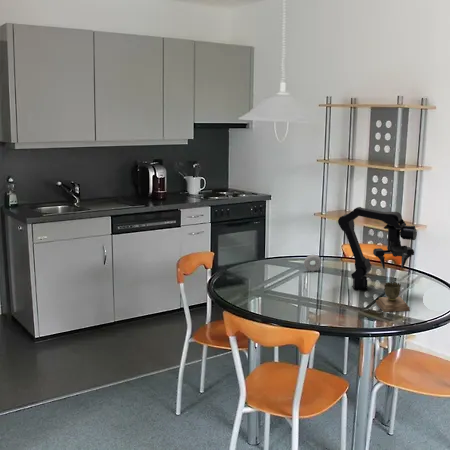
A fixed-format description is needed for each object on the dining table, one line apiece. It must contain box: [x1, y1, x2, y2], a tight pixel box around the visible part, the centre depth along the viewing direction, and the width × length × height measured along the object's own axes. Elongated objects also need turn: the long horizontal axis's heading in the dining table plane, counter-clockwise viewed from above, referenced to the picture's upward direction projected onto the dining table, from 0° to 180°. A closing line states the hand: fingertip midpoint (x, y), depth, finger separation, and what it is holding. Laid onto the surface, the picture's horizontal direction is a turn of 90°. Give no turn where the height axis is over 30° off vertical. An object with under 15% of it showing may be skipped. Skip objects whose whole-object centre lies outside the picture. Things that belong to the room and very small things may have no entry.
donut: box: [303, 254, 322, 273], centre depth 329 cm, size 10×4×10 cm, turn 97°
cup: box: [383, 281, 402, 301], centre depth 270 cm, size 8×7×8 cm
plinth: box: [375, 295, 411, 313], centre depth 271 cm, size 12×12×3 cm
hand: (393, 268), depth 286 cm, fingers open, 9 cm apart
